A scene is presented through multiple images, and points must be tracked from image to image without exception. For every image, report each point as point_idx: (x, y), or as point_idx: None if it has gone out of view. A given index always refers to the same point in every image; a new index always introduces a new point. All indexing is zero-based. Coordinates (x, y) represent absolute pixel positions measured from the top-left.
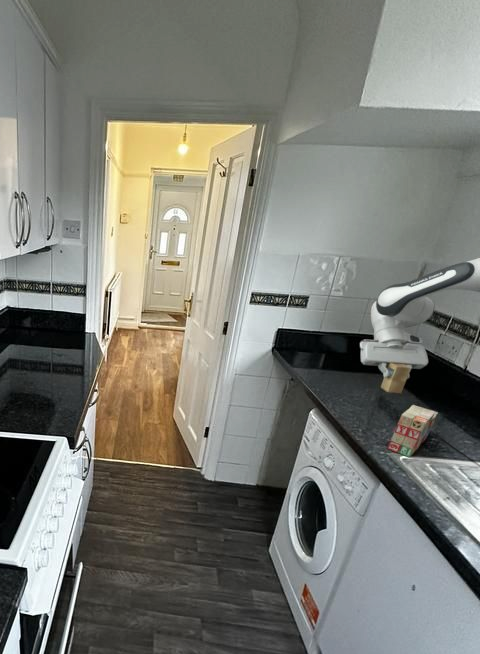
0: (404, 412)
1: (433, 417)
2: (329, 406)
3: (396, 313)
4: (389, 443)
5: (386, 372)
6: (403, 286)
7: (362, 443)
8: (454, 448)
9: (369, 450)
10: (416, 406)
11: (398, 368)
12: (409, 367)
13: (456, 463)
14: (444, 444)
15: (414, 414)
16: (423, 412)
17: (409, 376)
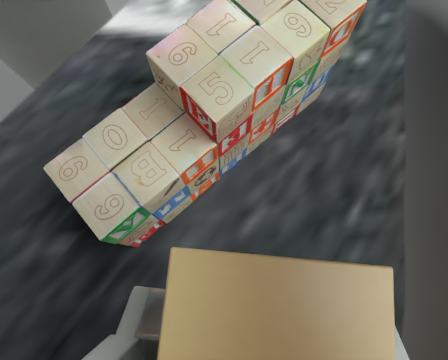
0: (336, 24)
1: (120, 109)
2: None
3: None
4: (322, 88)
5: (400, 339)
6: None
7: (398, 110)
8: (79, 104)
9: (397, 67)
10: (211, 100)
11: (349, 264)
12: (179, 266)
13: (159, 16)
14: (91, 128)
15: (294, 9)
16: (227, 33)
17: (135, 288)
